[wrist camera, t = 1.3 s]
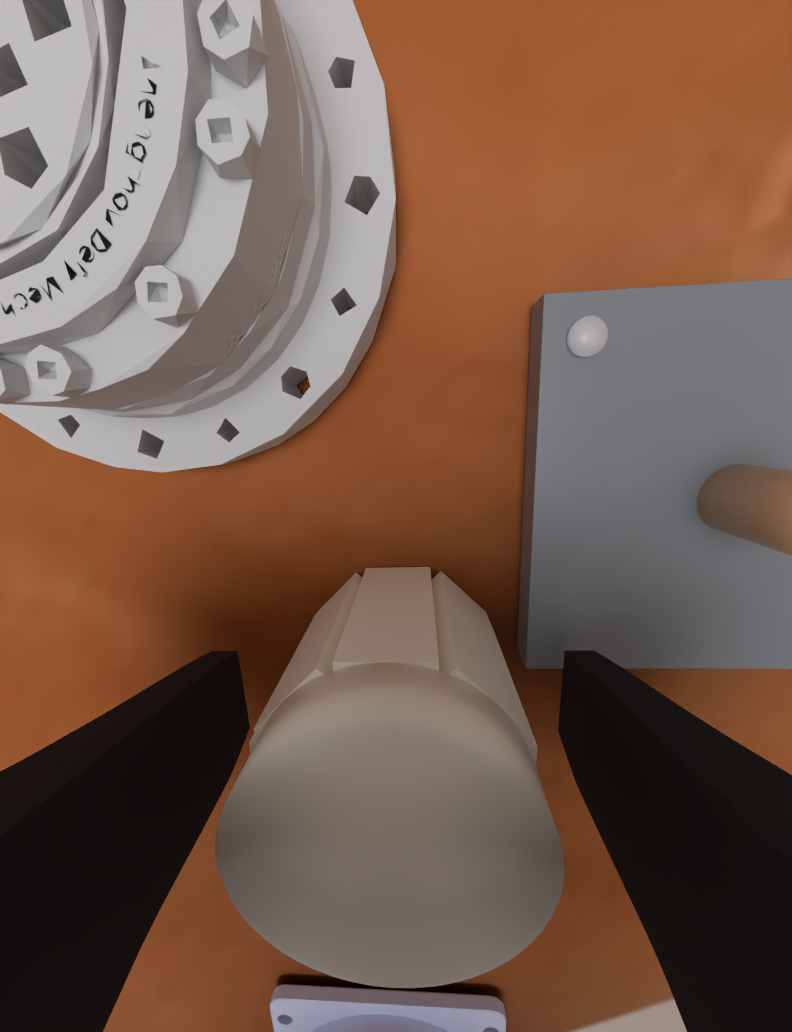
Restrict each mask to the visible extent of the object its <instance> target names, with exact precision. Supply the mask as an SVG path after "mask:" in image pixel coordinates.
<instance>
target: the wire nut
mask: <svg viewBox="0 0 792 1032" xmlns="http://www.w3.org/2000/svg"><path fill="white" fill-rule="evenodd" d="M253 730H254V731H255V732H254V734H253V736H252V738H251V740H250V742H249V749H250V755H249V757H248V759H247V761H246V763H245V764H244V766H243V768H242V770H241V772H240V774H239V776H238V778H237V780H236V782H235V784H234V786H233V788H232V790H231V792H230V794H229V796H228V798H227V800H226V802H225V805H224V807H223V809H222V812H221V814H220V818H219V822H218V826H217V831H216V847H215V849H216V858H217V866H218V869H219V873H220V876H221V880H222V883H223V885H224V887H225V889H226V891H227V893H228V896H229V898H230V899H231V901H232V902H233V904H234V905H235V907H236V909H237V910H238V912H239V913H240V914H241V915H242V917H243V918H244V919H245V920H246V921H247V923H248V924H249V925H250V926H251V927H252V928H253V929H254V930H255V931H256V932H257V933H258V934H259V935H260V936H261V937H262V938H263V939H265V940H266V941H267V942H269V943H270V944H271V945H273V946H274V947H275V948H276V949H278V950H279V951H281V952H282V953H284V954H286V955H287V956H289V957H290V958H292V959H294V960H295V961H297V962H299V963H301V964H303V965H306V966H308V967H310V968H312V969H314V970H316V971H319V972H322V973H324V974H327V975H330V976H332V977H336V978H339V979H343V980H346V981H350V982H354V983H359V984H365V985H370V986H378V987H388V988H422V987H434V986H440V985H446V984H451V983H456V982H459V981H463V980H467V979H470V978H473V977H476V976H478V975H481V974H483V973H486V972H489V971H491V970H493V969H495V968H497V967H498V966H500V965H502V964H504V963H506V962H508V961H509V960H511V959H512V958H513V957H515V956H516V955H518V954H519V953H521V952H522V951H523V950H524V949H525V948H526V947H527V946H529V945H530V944H531V943H532V942H533V941H534V940H535V939H536V938H537V937H538V935H539V934H540V933H541V932H542V931H543V929H544V928H545V927H546V926H547V924H548V922H549V920H550V919H551V917H552V915H553V914H554V912H555V910H556V907H557V904H558V902H559V899H560V896H561V893H562V887H563V882H564V855H563V850H562V844H561V840H560V837H559V834H558V832H557V829H556V826H555V823H554V820H553V817H552V814H551V811H550V808H549V806H548V803H547V800H546V797H545V794H544V791H543V788H542V785H541V783H540V780H539V777H538V774H537V771H536V766H537V750H538V747H537V744H536V741H535V739H534V736H533V733H532V731H531V728H530V725H529V723H528V720H527V717H526V715H525V712H524V709H523V707H522V704H521V701H520V699H519V696H518V693H517V691H516V688H515V686H514V683H513V680H512V678H511V675H510V672H509V670H508V667H507V664H506V662H505V659H504V656H503V654H502V651H501V648H500V646H499V643H498V640H497V638H496V635H495V632H494V630H493V627H492V624H491V622H490V621H489V618H488V615H487V613H486V611H485V610H484V609H483V608H481V607H480V606H479V605H478V604H477V603H476V602H475V601H474V600H473V599H471V598H470V597H469V596H468V595H467V594H466V593H465V592H464V591H463V590H462V589H460V588H459V587H458V586H457V585H456V584H455V583H454V582H453V581H452V580H450V579H449V578H448V577H447V576H446V575H445V574H444V573H443V572H442V571H440V572H439V573H438V574H437V575H436V576H435V577H434V578H433V579H432V580H431V571H430V567H389V568H366V569H365V572H364V575H363V578H362V577H361V576H360V575H359V574H358V573H355V574H354V575H353V576H352V577H351V578H350V579H349V580H348V581H347V582H346V583H345V584H344V585H343V586H342V587H341V588H340V589H339V590H338V591H337V592H336V593H335V594H334V595H333V596H332V597H331V598H330V599H329V600H328V601H327V602H326V603H325V604H324V605H323V606H322V608H321V609H320V610H319V611H318V612H317V613H316V614H315V616H314V618H313V620H312V621H311V623H310V625H309V627H308V629H307V631H306V632H305V634H304V636H303V638H302V640H301V642H300V644H299V645H298V647H297V649H296V651H295V653H294V655H293V657H292V658H291V660H290V662H289V664H288V666H287V668H286V670H285V671H284V673H283V675H282V677H281V679H280V681H279V683H278V684H277V686H276V688H275V690H274V692H273V694H272V695H271V697H270V699H269V701H268V703H267V705H266V707H265V708H264V710H263V712H262V714H261V716H260V718H259V720H258V721H257V723H256V725H255V727H254V729H253Z"/></svg>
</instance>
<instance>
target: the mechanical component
mask: <svg viewBox="0 0 792 1032" xmlns="http://www.w3.org/2000/svg"><path fill="white" fill-rule="evenodd" d="M368 211H369V213H368V214H367V215H366V214H364V213H366V212H368ZM395 268H396V183H395V168H394V160H393V152H392V144H391V136H390V128H389V120H388V112H387V104H386V96H385V88H384V83H383V81H382V78H381V75H380V73H379V70H378V67H377V65H376V62H375V59H374V57H373V54H372V51H371V49H370V46H369V43H368V41H367V38H366V35H365V33H364V30H363V27H362V25H361V22H360V19H359V17H358V14H357V11H356V9H355V6H354V3H353V0H0V412H1V413H2V414H4V415H5V416H7V417H9V418H10V419H12V420H13V421H15V422H17V423H18V424H20V425H21V426H23V427H24V428H26V429H28V430H29V431H31V432H32V433H34V434H36V435H37V436H39V437H40V438H42V439H43V440H45V441H47V442H48V443H50V444H51V445H53V446H55V447H56V448H59V449H62V450H65V451H68V452H71V453H74V454H77V455H80V456H83V457H86V458H89V459H92V460H95V461H98V462H101V463H104V464H107V465H110V466H113V467H118V468H128V469H137V470H146V471H155V472H169V471H177V470H184V469H192V468H199V467H207V466H214V465H222V464H229V463H232V462H234V461H237V460H240V459H243V458H245V457H248V456H251V455H253V454H256V453H259V452H261V451H264V450H267V449H269V448H272V447H275V446H278V445H280V444H281V443H283V442H284V441H285V440H287V439H288V438H290V437H291V436H293V435H294V434H296V433H297V432H299V431H300V430H302V429H303V428H305V427H306V426H308V425H309V424H311V423H312V422H314V421H315V420H316V419H317V418H318V416H319V415H320V414H321V413H322V412H323V411H324V410H325V409H326V408H327V407H328V406H329V405H330V404H331V403H332V402H333V401H334V399H335V398H336V397H337V396H338V395H339V394H340V393H341V392H342V391H343V390H344V389H345V388H346V386H347V384H348V383H349V381H350V379H351V378H352V376H353V374H354V373H355V371H356V369H357V367H358V366H359V364H360V362H361V361H362V359H363V357H364V356H365V354H366V352H367V350H368V349H369V347H370V345H371V344H372V342H373V339H374V335H375V332H376V329H377V326H378V323H379V319H380V316H381V313H382V310H383V306H384V303H385V300H386V297H387V294H388V290H389V287H390V284H391V281H392V277H393V274H394V271H395ZM349 307H350V308H352V309H350V310H349V311H347V310H348V308H349ZM306 377H308V379H309V383H310V388H309V389H308V390H307V391H306V393H305V394H304V395H302V394H301V392H300V390H299V389H298V387H297V385H298V384H299V383H300V382H301V381H303V380H304V379H305V378H306Z"/></svg>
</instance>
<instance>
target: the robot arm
mask: <svg viewBox="0 0 792 1032" xmlns="http://www.w3.org/2000/svg"><path fill="white" fill-rule="evenodd" d="M249 728H250V726H249V720H248V714H247V708H246V701H245V695H244V689H243V683H242V676H241V670H240V664H239V658H238V652H237V651H212V652H210V653H208V654H205V655H203V656H201V657H200V658H198V659H196V660H194V661H192V662H191V663H189V664H187V665H185V666H184V667H182V668H180V669H178V670H177V671H175V672H173V673H172V674H170V675H168V676H167V677H165V678H163V679H162V680H160V681H158V682H157V683H155V684H153V685H152V686H150V687H148V688H147V689H145V690H143V691H142V692H140V693H138V694H137V695H135V696H133V697H132V698H130V699H128V700H127V701H125V702H123V703H122V704H120V705H118V706H117V707H115V708H113V709H112V710H110V711H108V712H107V713H105V714H103V715H101V716H100V717H98V718H96V719H94V720H93V721H91V722H89V723H87V724H86V725H84V726H82V727H80V728H79V729H77V730H75V731H73V732H71V733H70V734H68V735H66V736H64V737H63V738H61V739H59V740H57V741H56V742H54V743H52V744H50V745H49V746H47V747H45V748H43V749H41V750H40V751H38V752H36V753H34V754H33V755H31V756H29V757H27V758H25V759H23V760H21V761H20V762H18V763H16V764H14V765H12V766H10V767H8V768H6V769H5V770H3V771H1V772H0V1032H103V1030H104V1028H105V1026H106V1024H107V1021H108V1019H109V1017H110V1015H111V1012H112V1010H113V1008H114V1006H115V1004H116V1001H117V999H118V997H119V995H120V992H121V990H122V988H123V986H124V983H125V981H126V979H127V977H128V975H129V972H130V970H131V968H132V966H133V963H134V961H135V959H136V957H137V955H138V952H139V950H140V948H141V946H142V944H143V942H144V940H145V938H146V936H147V934H148V932H149V930H150V928H151V926H152V924H153V922H154V920H155V918H156V916H157V914H158V912H159V910H160V908H161V906H162V904H163V903H164V901H165V899H166V897H167V895H168V893H169V891H170V890H171V888H172V886H173V884H174V882H175V880H176V878H177V876H178V875H179V873H180V871H181V869H182V867H183V865H184V863H185V861H186V860H187V858H188V856H189V854H190V852H191V850H192V848H193V846H194V845H195V843H196V841H197V839H198V837H199V835H200V833H201V832H202V830H203V828H204V826H205V824H206V822H207V820H208V818H209V816H210V815H211V813H212V811H213V809H214V807H215V805H216V803H217V801H218V799H219V797H220V796H221V794H222V792H223V790H224V788H225V786H226V784H227V782H228V780H229V778H230V776H231V774H232V771H233V769H234V766H235V764H236V761H237V759H238V757H239V754H240V752H241V749H242V746H243V744H244V741H245V738H246V736H247V733H248V731H249ZM558 731H559V734H560V737H561V740H562V743H563V746H564V749H565V752H566V755H567V758H568V761H569V764H570V767H571V770H572V772H573V775H574V778H575V781H576V783H577V786H578V788H579V790H580V792H581V794H582V797H583V799H584V801H585V803H586V805H587V807H588V810H589V812H590V814H591V816H592V818H593V820H594V823H595V825H596V827H597V829H598V831H599V833H600V835H601V838H602V840H603V842H604V844H605V846H606V848H607V850H608V852H609V854H610V857H611V859H612V861H613V863H614V865H615V867H616V869H617V871H618V874H619V876H620V878H621V880H622V882H623V884H624V886H625V888H626V891H627V893H628V895H629V897H630V899H631V901H632V903H633V905H634V907H635V910H636V912H637V914H638V916H639V918H640V920H641V922H642V924H643V927H644V929H645V931H646V933H647V935H648V937H649V940H650V942H651V944H652V947H653V949H654V951H655V953H656V956H657V958H658V960H659V963H660V965H661V967H662V969H663V972H664V974H665V976H666V979H667V981H668V984H669V986H670V989H671V992H672V994H673V997H674V999H675V1002H676V1004H677V1007H678V1009H679V1012H680V1014H681V1017H682V1019H683V1022H684V1024H685V1027H686V1030H687V1032H792V775H790V774H789V773H787V772H785V771H784V770H782V769H780V768H779V767H777V766H775V765H774V764H772V763H770V762H769V761H767V760H765V759H764V758H762V757H760V756H759V755H757V754H755V753H754V752H752V751H750V750H749V749H747V748H745V747H744V746H742V745H740V744H739V743H737V742H736V741H734V740H732V739H731V738H729V737H728V736H726V735H724V734H723V733H721V732H720V731H718V730H716V729H715V728H713V727H712V726H710V725H708V724H707V723H705V722H704V721H702V720H701V719H699V718H697V717H696V716H694V715H693V714H691V713H690V712H688V711H687V710H685V709H684V708H682V707H681V706H679V705H677V704H676V703H674V702H673V701H671V700H670V699H668V698H667V697H665V696H664V695H662V694H661V693H659V692H658V691H656V690H655V689H653V688H652V687H650V686H649V685H647V684H646V683H644V682H643V681H641V680H640V679H638V678H637V677H635V676H634V675H632V674H631V673H629V672H628V671H626V670H625V669H623V668H622V667H620V666H619V665H617V664H615V663H614V662H612V661H611V660H609V659H608V658H606V657H604V656H603V655H601V654H599V653H598V652H596V651H594V650H574V651H564V663H563V676H562V689H561V702H560V715H559V728H558ZM270 1012H271V1017H272V1023H273V1028H274V1032H506V1016H505V1010H504V1005H503V1003H502V1002H501V1001H500V1000H499V998H497V997H495V996H490V995H473V994H455V993H437V992H418V991H400V990H382V989H364V988H346V987H327V986H309V985H291V984H283V985H279V986H277V987H276V988H275V989H274V990H273V994H272V998H271V1002H270Z"/></svg>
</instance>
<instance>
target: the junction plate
mask: <svg viewBox="0 0 792 1032" xmlns="http://www.w3.org/2000/svg"><path fill="white" fill-rule="evenodd" d="M517 650H518V652H519V654H520V657H521V659H522V661H523V663H524V665H525V668H526V669H563V663H564V651H574V650H594V651H596V652H598V653H599V654H601V655H603V656H604V657H606V658H608V659H609V660H611V661H612V662H614V663H615V664H617V665H619V666H620V667H622V668H623V669H792V279H779V280H763V281H747V282H731V283H715V284H698V285H682V286H666V287H650V288H634V289H618V290H602V291H586V292H570V293H554V294H544V295H543V296H542V297H541V298H540V299H539V300H538V301H537V302H536V303H535V304H534V305H533V306H532V307H531V327H530V351H529V375H528V399H527V423H526V447H525V470H524V494H523V518H522V542H521V566H520V590H519V614H518V637H517Z"/></svg>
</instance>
